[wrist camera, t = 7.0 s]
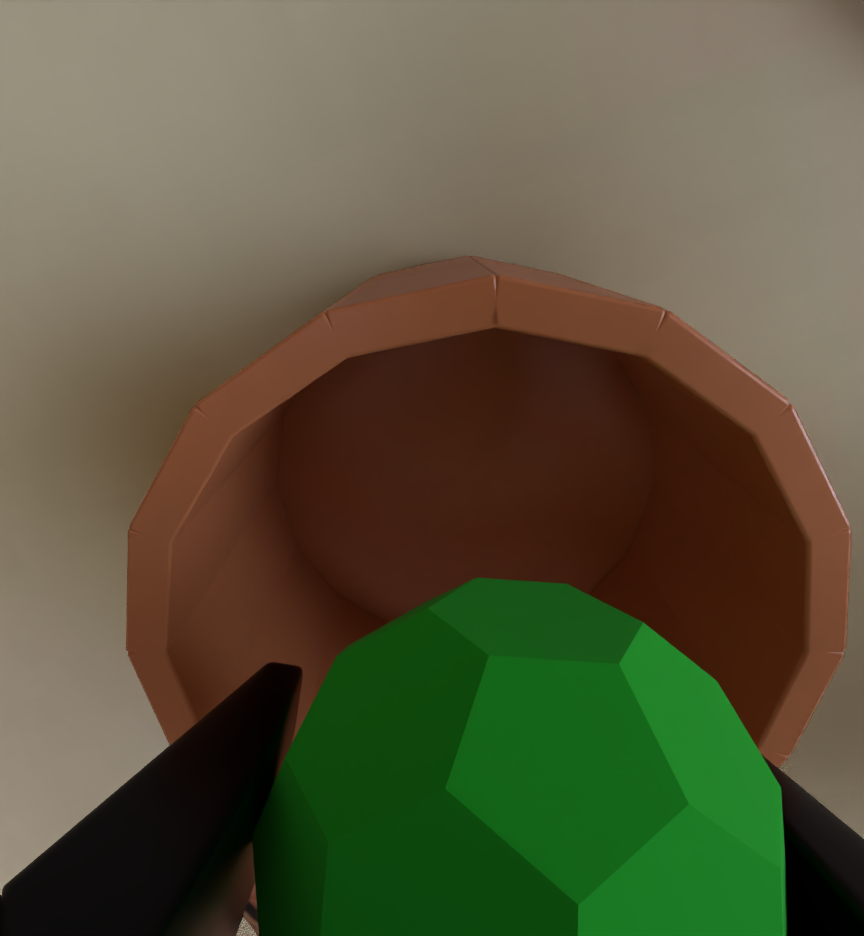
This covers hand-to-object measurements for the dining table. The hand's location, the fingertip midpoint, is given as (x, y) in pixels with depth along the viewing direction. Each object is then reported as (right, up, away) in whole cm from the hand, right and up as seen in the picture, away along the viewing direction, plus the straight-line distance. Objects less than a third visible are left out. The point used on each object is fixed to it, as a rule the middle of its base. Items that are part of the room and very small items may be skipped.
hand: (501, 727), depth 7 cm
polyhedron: (0, 0, +1) cm, 1 cm away
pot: (0, +3, +8) cm, 8 cm away
